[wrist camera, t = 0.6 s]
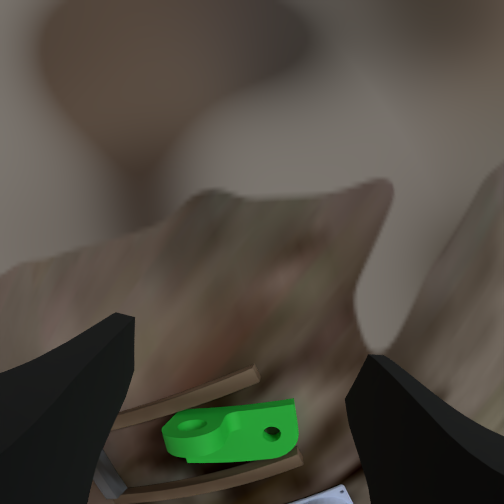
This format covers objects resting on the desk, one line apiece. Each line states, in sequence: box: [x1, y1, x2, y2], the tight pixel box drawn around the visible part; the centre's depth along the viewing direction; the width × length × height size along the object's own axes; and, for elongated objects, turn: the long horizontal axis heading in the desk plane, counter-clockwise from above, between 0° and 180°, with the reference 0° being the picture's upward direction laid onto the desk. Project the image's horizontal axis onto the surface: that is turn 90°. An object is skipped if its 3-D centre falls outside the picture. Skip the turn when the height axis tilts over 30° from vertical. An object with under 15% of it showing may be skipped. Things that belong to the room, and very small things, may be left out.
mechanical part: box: [162, 398, 299, 463], centre depth 24 cm, size 12×6×8 cm, turn 99°
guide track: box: [93, 364, 303, 504], centre depth 26 cm, size 12×25×3 cm, turn 115°
